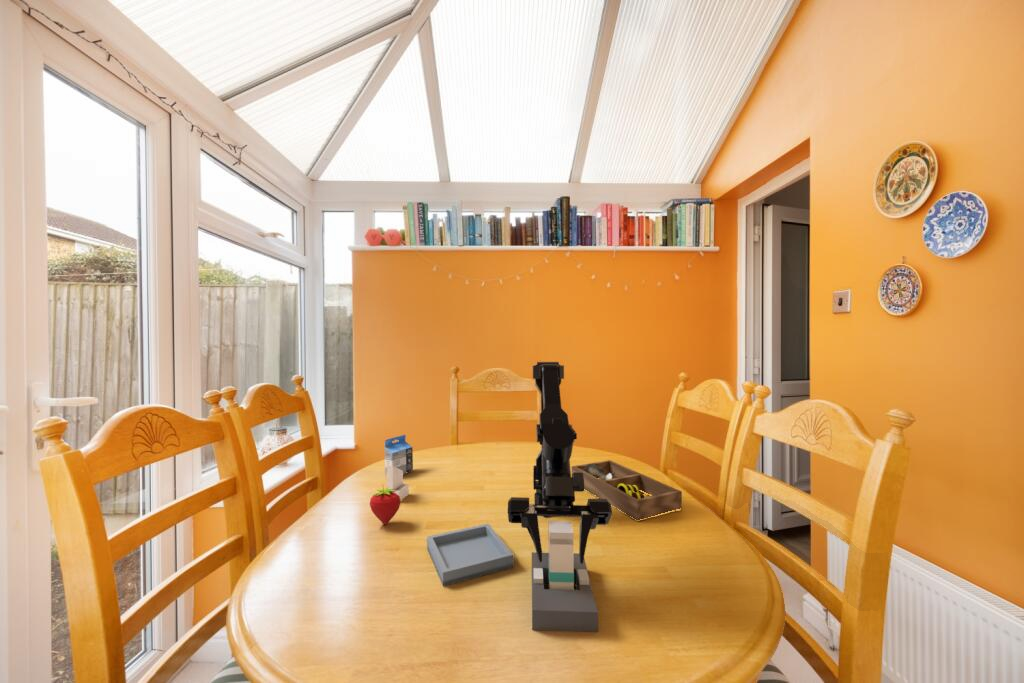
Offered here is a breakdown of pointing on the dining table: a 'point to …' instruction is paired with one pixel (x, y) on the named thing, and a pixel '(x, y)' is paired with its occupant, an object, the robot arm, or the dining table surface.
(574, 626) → the block
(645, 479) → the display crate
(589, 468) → the eagle figurine
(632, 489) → the yellow coil spring
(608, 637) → the dining table surface
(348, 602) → the dining table surface
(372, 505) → the strawberry
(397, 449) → the label tape box
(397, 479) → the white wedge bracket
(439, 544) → the tray
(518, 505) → the robot arm
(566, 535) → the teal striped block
